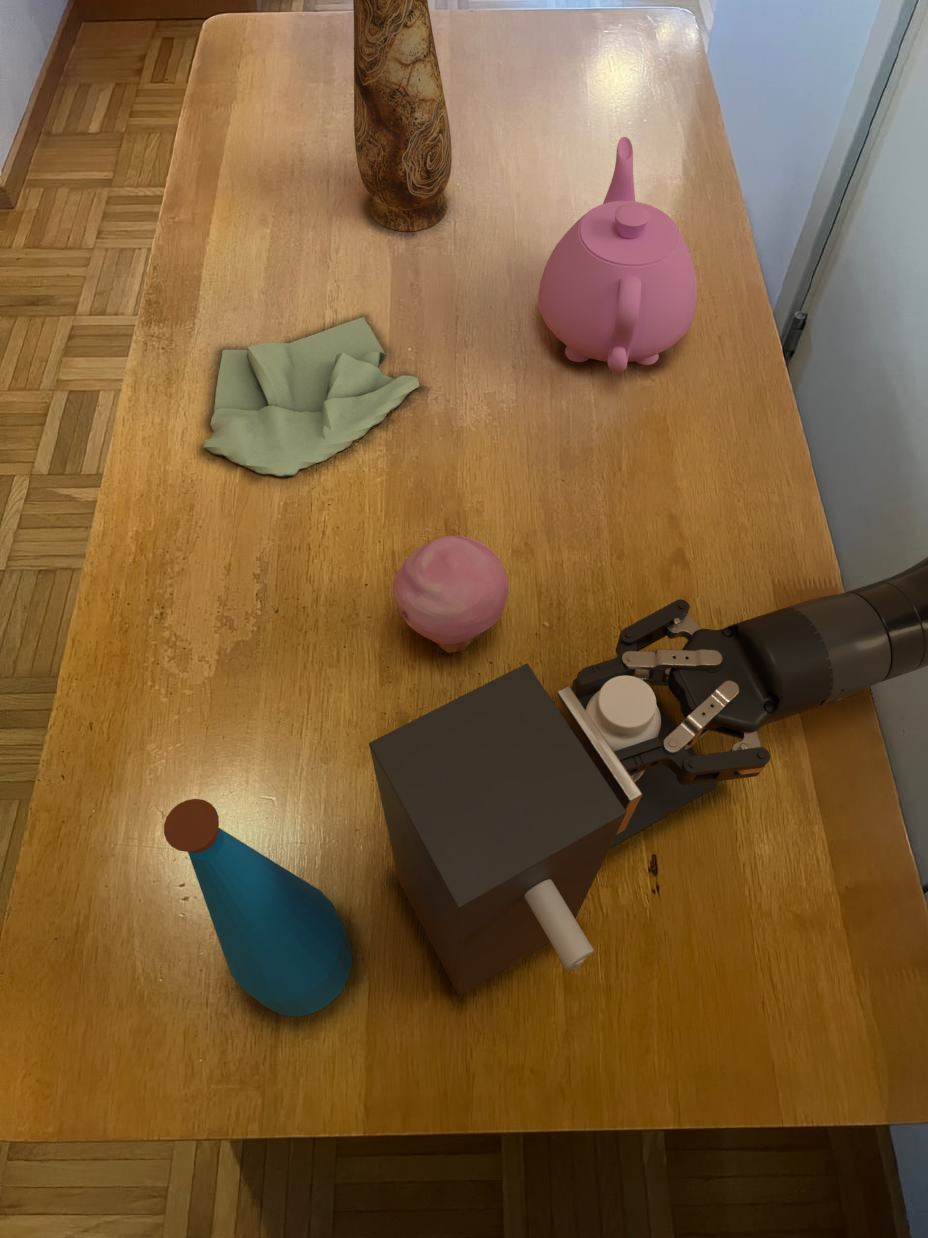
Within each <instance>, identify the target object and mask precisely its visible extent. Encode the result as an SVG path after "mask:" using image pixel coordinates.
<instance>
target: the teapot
mask: <svg viewBox="0 0 928 1238" xmlns="http://www.w3.org/2000/svg"><path fill="white" fill-rule="evenodd" d="M696 273H697V272H696V269H695V264H694V260H693V257H692V255H691V252H690V249H689V247H688V245H687V243H686V241H685V238H684V236H683V234H682V232H681V231H680V229H679V228H678V226H677V224H676V223H675V221H674V220H673V219H672V217H670V216H669V215H668V214H667V213H666V212H664V211H662V210H661V209H660V208H658V207H656V206H654V205H651V204H647V203H645V202H641V201H636V194H635V180H634V149H633V144H632V141H631V140H630V138H628V137H627V136H621V137H620V138H619V140H618V142H617V147H616V153H615V165H614V171H613V174H612V178H611V181H610V184H609V186H608V189H607V192H606V194H605V197H604V200H603V202H602V204H599V205H597V206H595V207H593V208H591V209H589V210H588V211H587V212H586V213H584V214H583V215H582V216H581V217H580V218H579V219H578V220H577V221H576V222H575V223H574V224H572V226H571V227H570V228H569V229H568V231H566V232H565V233H564V235H563V236H562V237H561V238H560V240H559V241H558V242H557V243H556V244H555V246H554V248H553V249H552V251H551V253H550V255H549V257H548V259H547V261H546V264H545V266H544V269H543V272H542V274H541V275H542V276H541V278H540V282H539V289H538V295H537V297H538V298H537V299H538V307H539V311H540V314H541V316H542V318H543V320H544V323H545V324H546V326H547V328H548V329H549V330H550V331H551V332H552V333H553V334H554V336H555V337H556V338H557V339H558V340H559V341H560V342H562V343H563V344H564V345H565V346H566V347H565V349H564V354H565V356H566V357H567V359H569V360H570V361H572V362H576V363H583V362H586V361H588V360H590V359H593V360H596V361H600V362H607V367H608V369H609V370H611V371H612V372H616V373H620V372H623V371H625V370H626V369H627V366H628V363H629V362H631V363H633V362H635V363H637V364H640V365H642V366H643V365H644V366H648V365H653V364H655V363H656V362H657V361H658V360H659V357H660V356H659V354H660V353H662V352H664V351H666V350H668V349H670V348H671V347H672V346H674V345H675V344H677V343H678V342H679V341H680V340H681V339H682V338H683V337H684V335H685V334H686V333H687V332H688V330H689V329H690V328H691V325H692V323H693V321H694V317H695V313H696V308H697V301H698V282H697V279H698V278H697V274H696Z"/></svg>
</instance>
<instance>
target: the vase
mask: <svg viewBox="0 0 928 1238" xmlns="http://www.w3.org/2000/svg"><path fill="white" fill-rule="evenodd" d="M352 1H353V136H354V149H355V156H356V164H357V168H358V172H359V177H360V179H361V182H362V184H363V187H364V188H365V190H366V192H367V193H368V194H369V196H370V197H371V201H370V203H369V210H370V214H371V216H372V218H373V220H374V221H376V222H377V223H378V224H379V225H381V226H382V227H385V228H387V229H391V230H395V231H399V232H414V231H421V230H426V229H428V228H430V227H432V226H434V225H436V224H438V222H440V221H441V219H442V218H443V217H444V216H445V215H446V213H447V212H448V207H449V206H448V205H449V204H448V198H447V196H446V195H445V193H444V191H445V190H446V188H447V186H448V184H449V180H450V178H451V172H452V161H453V152H452V151H453V150H452V136H451V127H450V120H449V114H448V109H447V103H446V98H445V92H444V86H443V81H442V76H441V70H440V65H439V59H438V55H437V49H436V44H435V38H434V31H433V27H432V20H431V15H430V8H429V2H428V0H352Z"/></svg>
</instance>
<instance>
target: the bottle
mask: <svg viewBox="0 0 928 1238" xmlns="http://www.w3.org/2000/svg"><path fill="white" fill-rule="evenodd" d="M163 835H164V838H165V840H166V842H167V843H168V844H169V846H170V847H171V848H173V849H175V850H177V851H178V852H186V853H187V854H188V857H189V860H190V862H191V865H192V868H193V871H194V874H195V876H196V879H197V883H198V886H199V889H200V891H201V894H202V897H203V900H204V902H205V905H206V908H207V911H208V914H209V917H210V919H211V922H212V925H213V928H214V931H215V934H216V937H217V939H218V942H219V945H220V948H221V952H222V954H223V957H224V959H225V962H226V964H227V967H228V970H229V973H230V976H231V977H232V978H233V979H234V981H235V982H236V983H237V984H238V986H240V988H241V989H242V990H243V991H245V992H246V993H247V994H248V995H249V996H251V997H252V998H253V999H254V1000H256V1001H257V1002H258V1003H260V1004H261V1005H263V1006H264V1007H265V1008H268V1009H269V1010H271V1011H272V1012H274V1013H276V1014H278V1015H282V1016H288V1017H292V1018H297V1017H302V1016H308V1015H313V1014H315V1013H317V1012H320V1011H321V1010H323V1009H324V1008H326V1007H328V1006H329V1005H330V1004H332V1002H333V1001H334V1000H335V999H336V998H337V997H338V996H339V995H340V994H341V993H342V991H343V989H344V987H345V986H346V984H347V982H348V980H349V978H350V975H351V970H352V964H353V961H354V959H353V948H352V942H351V939H350V937H349V935H348V933H347V930H346V928H345V926H344V924H343V921H342V920H341V918H340V916H339V914H338V912H337V910H336V907H335V905H334V904H333V902H332V901H331V900H330V899H329V898H328V897H327V896H326V894H325V893H324V892H323V891H322V890H321V889H319V888H317V887H316V886H313V884H311V883H309V882H308V881H306V880H304V879H303V878H301V877H300V876H298V875H296V874H295V873H293V872H291V871H290V870H288V869H287V868H285V867H283V866H282V865H280V864H278V863H277V862H275V861H273V859H271V858H269V857H267V856H265V855H264V854H262V853H261V852H260V851H258V850H256V849H254V848H253V847H251V846H249V845H248V844H246V843H244V842H243V841H241V840H240V839H238V838H237V837H235V836H233V835H231V834H230V833H228V832H227V831H225V830H224V829H222V828H220V817H219V814H218V811H217V809H216V808H215V806H214V805H213V804H212V803H210V802H209V801H207V800H205V799H201V798H191V799H190V798H189V799H186V800H184V801H182V802H180V803H177V804H176V805H175V806H174V807H173V808H172V809H171V810H170V811H169V812H168V814H167V815H166V818H165V821H164V824H163Z"/></svg>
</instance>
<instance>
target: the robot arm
mask: <svg viewBox="0 0 928 1238" xmlns="http://www.w3.org/2000/svg"><path fill="white" fill-rule="evenodd" d="M689 610H690V603H689V602H688V601H687V600H686V599H681V598H680V599H676V600H674V601H672V602H671V603H669V604H666V605H665V606H663V607H661V608H660V609H658V610H656V611H654V612H652V613H650V614H648V615H646V616H645V617H643V618H641V619H639V620H638V621H636V622H634V623H632V624H630V625H628V626H626V627H624V628H623V629H622V630H620V632H619V636H618V641H617V643H616V645H615V654H616V657H614V658H612V659H608V660H604V661H601V662H598V663H595V664H592V665H589V666H586V667H583V668H582V669H580V671H578V672H577V675H576V678H574V679H573V680H572V684H571V687H570V688H571V690H572V691H573V693H574V694H575V696H576V697H577V699H578V698H582V697H585V696H588V695H591V694H595V693H597V692H598V691H599V690H601V688H602V686H603V685H604V684H605V683H606V682H607V681H609V680H610V679H612V678H614V677H618V676H633V677H636V678H639V679H641V680H643V681H644V682H645V683H648V684H650V685H651V686H654V687H655V686H659V687H661V686H662V687H668V689H669V692H670V693H671V695H672V696H673V697H674V699H676V701H678V703H679V708H680V713H681V715H682V717H683V719H684V720H683V721H682V722H681V723H680V724H679V725H678V726H677V727H676V729H675V730H674V731H673V732H672V733H671V734H669V735H668V736H667V737H666V738H665V739H663V740H660V741H659V739H658V737H655V738H652V739H649V740H646V741H643V742H640V743H638V744H635V745H632V746H629V747H626V748H623V749H620V750H617V751H614V753H615V754H616V756H617V757H618V759H619V760H620V762H621V763H622V765H623V766H624V768H625V769H626V770H627V772H628V773H629V775H632V774H634V773H638V772H641V771H644V770H647V769H650V768H653V767H655V766H659V765H664V766H667V767H668V768H670V769H671V770H672V771H673V772H674V773H675V774H676V777H677V780H678V782H679V783H680V784H682V785H694V784H701V783H709V782H716V783H718V782H722V781H723V782H725V781H731V780H738V779H739V780H740V779H746V778H753V777H754V778H755V777H757V776H759V775H760V774H761V772H762V771H763V770H764V769H765V768H766V766H767V765H768V763H769V762H770V760H771V753H770V751H769V750H768V749H766V748H765V747H762V744H761V741H760V738H759V737H760V736H759V734H758V731H760V729H761V728H762V727H763V726H765V725H770V724H772V723H775V722H778V721H781V720H785V719H787V718H789V717H793V716H796V715H799V714H802V713H805V712H807V711H810V710H814V709H818V708H819V707H822V706H827V705H828V706H830V705H834V704H835V703H838V702H841V701H843V699H846V698H848V697H852V696H854V695H856V694H858V693H861V692H862V691H864V690H866V689H868V688H870V687H872V686H874V685H876V684H879V683H882V682H885V681H888V680H890V679H895V678H897V677H900V676H903V675H905V674H909V673H911V672H914V671H917V670H920V669H923V668H926V667H928V556H926V557H925V558H923V559H922V560H920V561H918V562H917V563H916V564H914V565H912V566H911V567H909V568H907V569H905V570H903V571H901V572H899V573H897V574H895V575H892V576H890V577H887V578H885V579H882V580H879V581H877V582H873V583H870V584H868V585H864V586H861V587H858V588H854V589H852V590H848V591H846V592H841V593H836V594H832V595H826V596H825V595H824V596H820V597H815V598H812V599H807V600H806V601H802V602H798V603H796V604H793V605H790V606H786V607H783V608H779V609H777V610H774V611H771V612H767V613H765V614H760V615H757V616H754V617H751V618H747V619H746V620H741V621H739V622H736V623H733V624H731V625H728V626H726V627H723V628H720V629H712V628H700V626H699V624H698V623H696V621H695V620H694V618H693V617H692V615H690V614H689ZM665 637H667V638H668V639H669V640H673V639H678V638H684V639H686V640H687V641H686V643H685V644H684V646H683V647H682V649H667V648H663V649H662V648H661V649H657V650H654V651H642V650H643V649H646V648H648V647H649V646H651V645H652V644H654V643H656V642H658V641H660V640H662V639H663V638H665ZM709 731H711V732H714V733H718V734H721V735H725V736H729V737H733V738H737V739H740V741H738V742H736V743H734V744H733V746H732V747H731V749H730V750H726V751H717V752H711V753H704V754H696V755H695V756H691V755H690V754H689V753H688V752H687V751H686V750H687V749H688V748H690V747H691V748H692V747H693V746H694V745H695V744H696V743H697V742H699V741H700V739H701V738H703V737H704V736H705V735H706V734H707V733H708V732H709Z"/></svg>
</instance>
